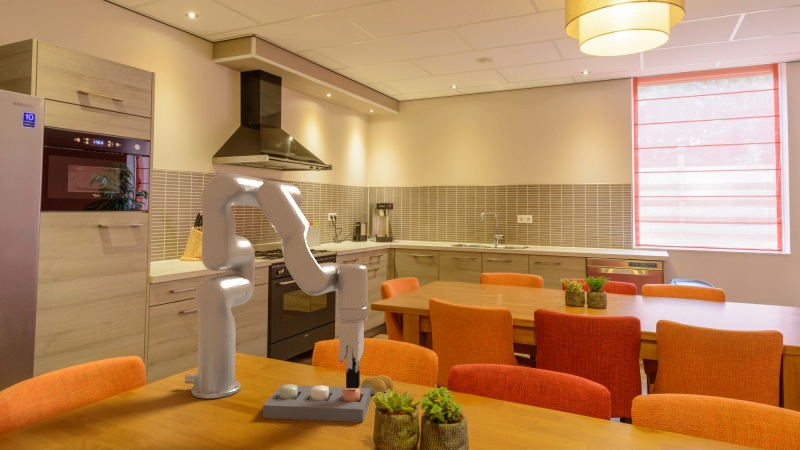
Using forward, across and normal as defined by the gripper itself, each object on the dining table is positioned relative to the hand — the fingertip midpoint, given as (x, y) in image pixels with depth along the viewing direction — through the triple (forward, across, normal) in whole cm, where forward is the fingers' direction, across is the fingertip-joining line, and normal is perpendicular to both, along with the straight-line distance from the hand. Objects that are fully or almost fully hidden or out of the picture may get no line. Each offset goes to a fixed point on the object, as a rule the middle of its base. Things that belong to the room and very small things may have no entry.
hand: (352, 387), depth 116 cm
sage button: (+4, 0, -16) cm, 17 cm away
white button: (+4, 0, -8) cm, 9 cm away
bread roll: (+6, -15, +4) cm, 17 cm away
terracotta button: (+4, 0, 0) cm, 4 cm away
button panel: (+6, 0, -8) cm, 10 cm away
